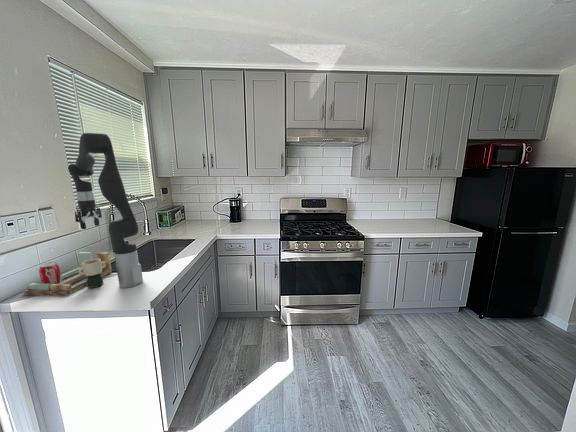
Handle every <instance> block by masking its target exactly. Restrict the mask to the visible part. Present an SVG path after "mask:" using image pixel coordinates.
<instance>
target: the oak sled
mask: <svg viewBox="0 0 576 432" xmlns="http://www.w3.org/2000/svg"><path fill="white" fill-rule="evenodd" d="M95 259H101V262H103V261H105V264H106V267H104V268H102V272H101V273H100V274H101V276H102V278H103V277H105V276H107V275H109V274H111V273H113V269H112V264H111V257H110V252H102V251H101V252H100V251H99V252H98V251H97V252H95ZM102 266H103V263H102ZM108 273H109V274H108ZM87 277H88V276H86V275H85V274H82V275H80V276H78V277H76V278H73V277H72V278H73V279H71V280H69V281H67V282H65V283H62V284H51V285H49V286H50V290H51V291H68V294H69V295H70V294H72V293H74V292H76V291H77V290H81V289H82V288H84V287H85V286H86V287H87V280H85V281H83V282H80V283H78V282H79V281H81V280H83V279H85V278H87ZM75 283H78V284H76V285H74V286H72V284H75Z"/></svg>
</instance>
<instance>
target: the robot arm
mask: <svg viewBox="0 0 576 432" xmlns="http://www.w3.org/2000/svg"><path fill="white" fill-rule="evenodd" d="M113 147H114V146H113V143H112V140H111V138H110V137H109V135H108V134H106V133H95V132H83V133H82V134H81V135H80V138H79V146H78V156H77V159H76V160H75V163H69V165H68V167H67V171H68V173H69V175H70V177H72V180H73V182H74V186H75V190H76V191H75V192H76V200H77V204H78V208H79V211H77V210H76V211H74V219H75V223H79V225H80V229H81V230H86V229H87V224H86V220H88V218H93V223H94V226H95V227H98V226H100V218H102V217H103V215H102V211H101V208H100V207H96V206H97V205H96V200H95V194H94V190H93V184H92V182H91V181H89V180H84V179H82V178H80V177H91V176H93V175H94V172H95V171H94V166H95V163H96V157H95V155H94V154H103V155H104V165H103V167H102V170H101V171H100V174H99V176H98V179H97V182H98V186H99V189H100V191H101V195H102V196H103V198H105V199H106V200H107V201H108V202H109V203H111V204H112V205H113V206H114V207H115V208H116V209H117V210H118V212H119V214H120V215H121V219H115V220H112V221H110V222H109V223H108V233H109V234H108V235H109V238H110V243H111V247H112V249H113V255H114V259H115V260H114V261H115V267H116V272H117V273H116V274H117V280H118V285H119V288H121V289H126V288H132V287H133V288H135V287H137V286H138V285H140V284H141V283H143V282H144V278H143V270H142V265H141V263H139V256H138V249H137V244H135V243H133V242H126V241H125V239H126V238H130V237H133V236H137V234H138V233H139V225H138V223H137V220H136V217H135V215H134V213H133V210H132V208H131V205H130V202H129V200H128V197H127V193H126V189H125V186H124V183H123V179H122V177H121V174H120V171H119V167H118V165H117V161H116V157H115V156H116V155H115V153H114V148H113Z"/></svg>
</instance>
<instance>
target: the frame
mask: <svg viewBox="0 0 576 432" xmlns="http://www.w3.org/2000/svg"><path fill="white" fill-rule="evenodd" d="M70 271H71V270H70ZM70 271H67V272H64V273H63V274H66V273H68V272H70ZM63 274H62V273H61V275H63ZM23 294H24V296H47V295H49V296H50V297H51V296H52V297H69V295H70V294H68V291H44V290H30V287H29V288H26V289H25V290H24V289H23ZM49 296H48V297H49Z"/></svg>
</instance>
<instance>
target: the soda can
mask: <svg viewBox="0 0 576 432" xmlns="http://www.w3.org/2000/svg"><path fill="white" fill-rule="evenodd" d="M60 268H61V267H60V266H59V264H57V262H47V263H43V264H41V265H39V269H38V273H39V278H40V284H59V283H62V282H63V279H62V278H61V275H62V273H61V269H60Z"/></svg>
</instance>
